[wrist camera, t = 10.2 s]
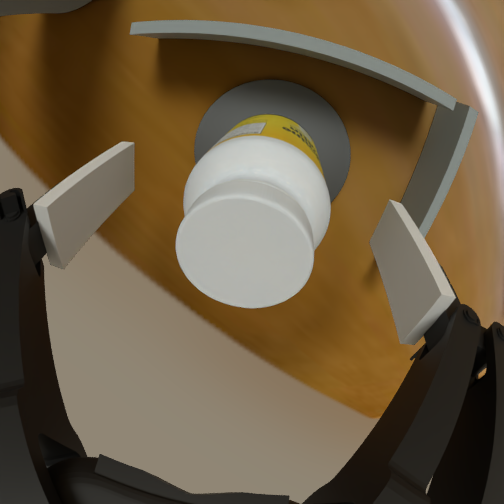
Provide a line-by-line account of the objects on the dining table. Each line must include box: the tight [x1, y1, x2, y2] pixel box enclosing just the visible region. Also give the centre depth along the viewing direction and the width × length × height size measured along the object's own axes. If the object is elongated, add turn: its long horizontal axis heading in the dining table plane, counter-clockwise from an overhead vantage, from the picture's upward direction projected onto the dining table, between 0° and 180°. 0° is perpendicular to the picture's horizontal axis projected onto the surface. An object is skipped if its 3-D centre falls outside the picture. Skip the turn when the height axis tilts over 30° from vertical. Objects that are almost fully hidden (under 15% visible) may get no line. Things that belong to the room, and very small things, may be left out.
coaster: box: [194, 80, 350, 203], centre depth 19 cm, size 11×11×1 cm
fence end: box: [401, 102, 478, 238], centre depth 16 cm, size 1×14×4 cm, turn 169°
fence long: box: [130, 20, 457, 110], centre depth 12 cm, size 19×1×4 cm, turn 79°
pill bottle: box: [176, 114, 331, 308], centre depth 14 cm, size 6×6×12 cm
